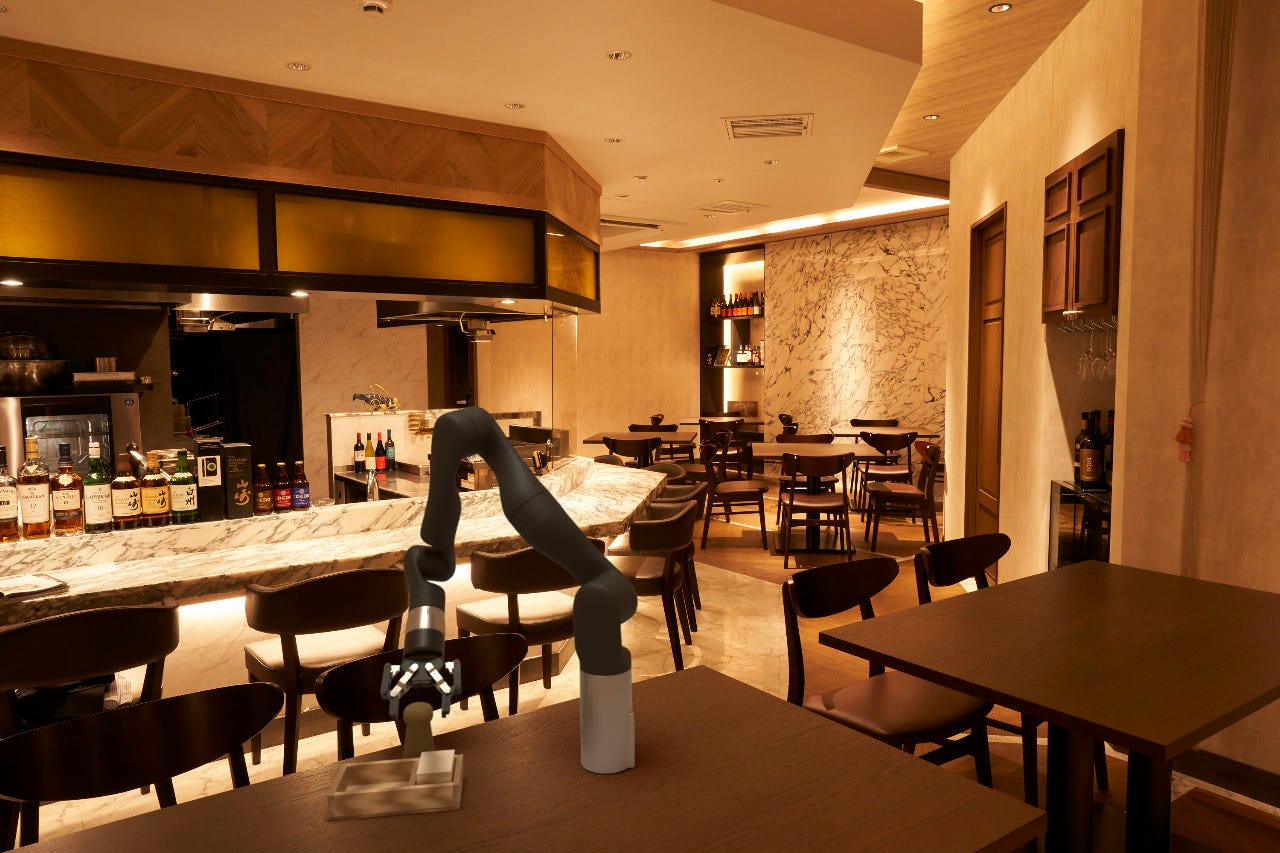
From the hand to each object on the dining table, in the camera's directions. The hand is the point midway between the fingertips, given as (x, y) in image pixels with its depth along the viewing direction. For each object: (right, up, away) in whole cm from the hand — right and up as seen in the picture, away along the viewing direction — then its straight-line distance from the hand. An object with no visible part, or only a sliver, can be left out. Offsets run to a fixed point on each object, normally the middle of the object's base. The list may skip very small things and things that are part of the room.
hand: (419, 717), depth 147 cm
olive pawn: (0, -8, -1) cm, 8 cm away
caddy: (0, -8, -13) cm, 15 cm away
